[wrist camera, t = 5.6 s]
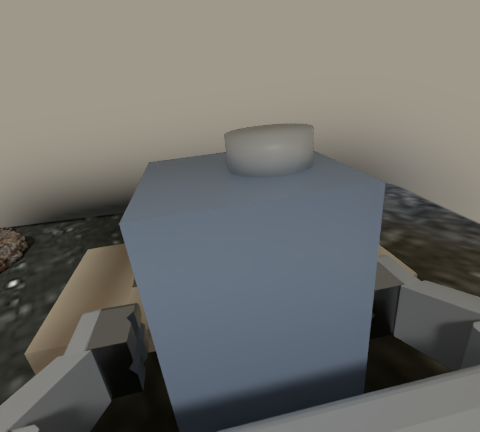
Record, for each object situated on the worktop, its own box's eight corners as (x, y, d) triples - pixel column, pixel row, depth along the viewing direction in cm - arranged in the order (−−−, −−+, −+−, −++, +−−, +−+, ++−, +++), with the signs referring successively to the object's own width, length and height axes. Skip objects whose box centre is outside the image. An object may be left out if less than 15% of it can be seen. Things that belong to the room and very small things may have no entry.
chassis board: (36, 376, 14) (24, 353, 14) (93, 266, 23) (87, 249, 23) (413, 296, 17) (417, 273, 16) (331, 224, 26) (332, 208, 25)
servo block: (209, 534, 9) (104, 173, 4) (200, 392, 13) (142, 134, 8) (353, 491, 9) (389, 135, 5) (300, 368, 13) (294, 116, 9)
